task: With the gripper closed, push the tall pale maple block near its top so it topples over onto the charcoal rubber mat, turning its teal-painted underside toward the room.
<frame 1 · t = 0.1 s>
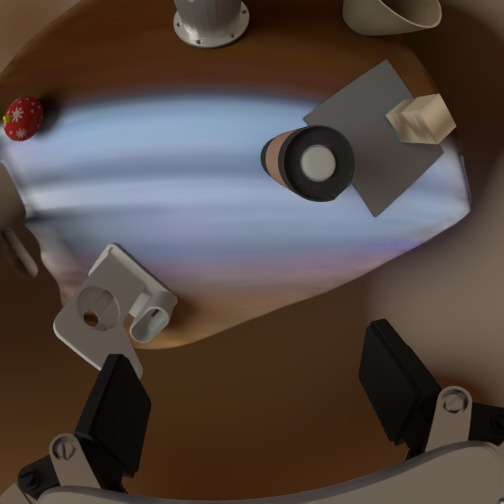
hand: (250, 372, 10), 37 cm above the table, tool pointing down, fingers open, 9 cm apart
rubber mat: (383, 134, 42), on the table
plant pot: (360, 20, 33), on the table
christmas ornament: (36, 119, 35), on the table
maple block: (401, 120, 40), point 1 cm above the table, touching rubber mat
phone holder: (132, 287, 49), on the table
travel mug: (281, 157, 43), on the table
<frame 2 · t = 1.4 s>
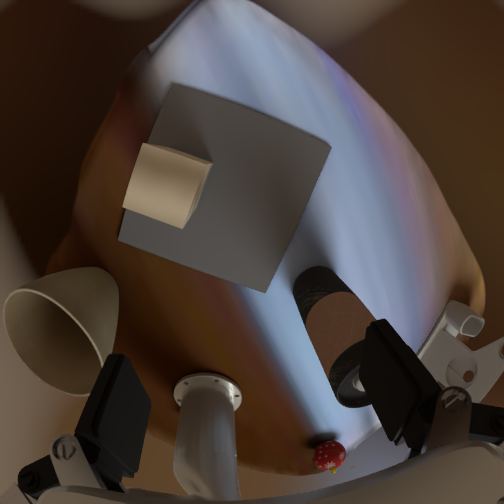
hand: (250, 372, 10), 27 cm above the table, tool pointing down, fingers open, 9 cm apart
rubber mat: (219, 190, 34), on the table
plant pot: (98, 287, 37), on the table
christmas ornament: (324, 442, 56), on the table
maple block: (182, 177, 33), point 1 cm above the table, touching rubber mat
phone holder: (442, 334, 48), on the table
travel mug: (315, 287, 40), on the table
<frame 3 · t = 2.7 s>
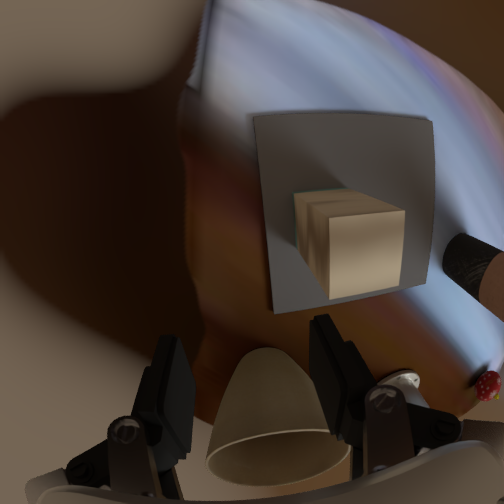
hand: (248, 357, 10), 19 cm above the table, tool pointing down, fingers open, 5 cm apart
rubber mat: (360, 212, 29), on the table
plant pot: (263, 364, 36), on the table
christmas ornament: (479, 376, 48), on the table
maple block: (321, 217, 28), point 1 cm above the table, touching rubber mat
travel mug: (456, 255, 33), on the table
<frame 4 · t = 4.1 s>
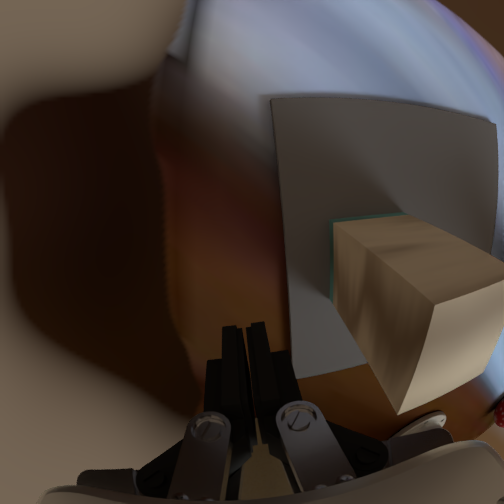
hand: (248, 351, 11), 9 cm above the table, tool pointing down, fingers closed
rubber mat: (416, 244, 19), on the table
plant pot: (275, 426, 26), on the table
christmas ornament: (499, 401, 38), on the table
maple block: (367, 256, 19), point 1 cm above the table, touching rubber mat
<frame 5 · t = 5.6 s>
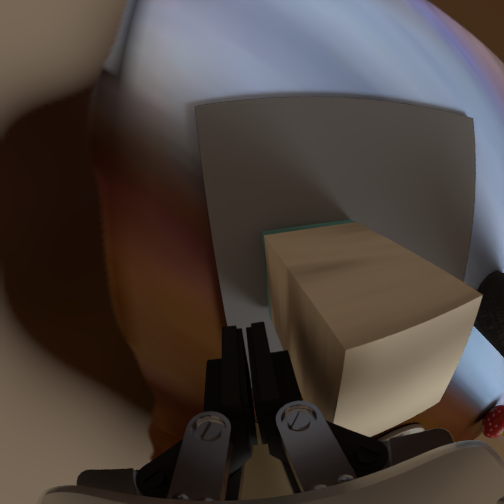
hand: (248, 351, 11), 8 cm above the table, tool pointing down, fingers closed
rubber mat: (370, 254, 19), on the table
plant pot: (232, 433, 26), on the table
christmas ornament: (488, 410, 37), on the table
maple block: (309, 268, 18), point 1 cm above the table, tilted 5°, touching gripper, rubber mat
travel mug: (486, 297, 22), on the table
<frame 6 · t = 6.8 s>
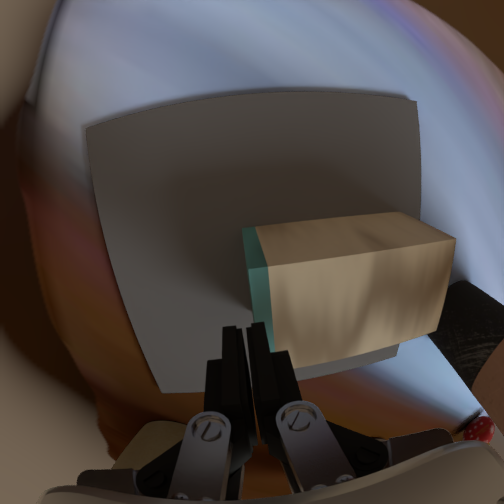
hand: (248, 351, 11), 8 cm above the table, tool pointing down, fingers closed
rubber mat: (276, 265, 18), on the table
plant pot: (172, 434, 25), on the table
christmas ornament: (470, 421, 37), on the table
maple block: (250, 296, 15), point 4 cm above the table, tilted 90°, touching rubber mat
travel mug: (450, 310, 22), on the table
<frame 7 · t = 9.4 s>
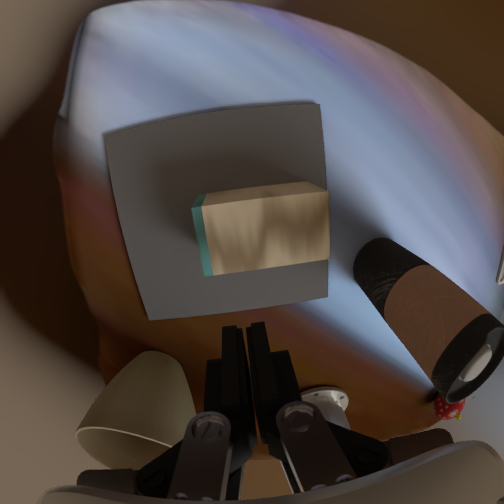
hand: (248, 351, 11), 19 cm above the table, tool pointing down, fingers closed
rubber mat: (223, 219, 28), on the table
plant pot: (157, 367, 36), on the table
christmas ornament: (441, 391, 48), on the table
maple block: (201, 232, 25), point 4 cm above the table, tilted 90°, touching rubber mat
travel mug: (376, 263, 32), on the table
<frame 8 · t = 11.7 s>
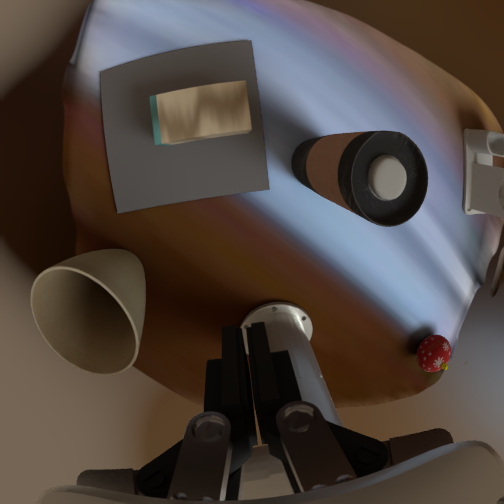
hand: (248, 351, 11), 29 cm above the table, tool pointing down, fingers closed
rubber mat: (179, 122, 33), on the table
plant pot: (122, 269, 40), on the table
christmas ornament: (424, 342, 52), on the table
maple block: (158, 122, 30), point 4 cm above the table, tilted 90°, touching rubber mat
phone holder: (477, 171, 38), on the table
travel mug: (315, 163, 37), on the table
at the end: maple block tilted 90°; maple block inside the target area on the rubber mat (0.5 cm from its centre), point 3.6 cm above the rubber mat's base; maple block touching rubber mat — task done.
